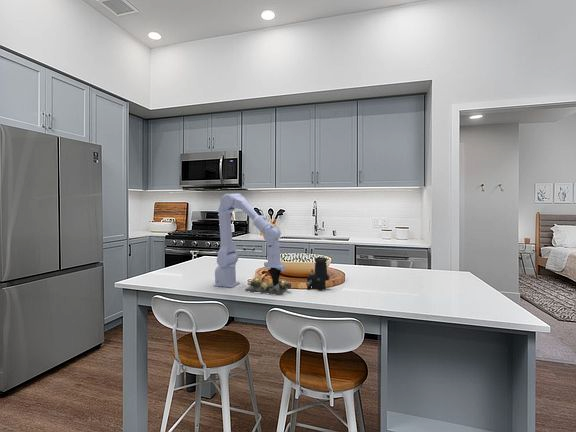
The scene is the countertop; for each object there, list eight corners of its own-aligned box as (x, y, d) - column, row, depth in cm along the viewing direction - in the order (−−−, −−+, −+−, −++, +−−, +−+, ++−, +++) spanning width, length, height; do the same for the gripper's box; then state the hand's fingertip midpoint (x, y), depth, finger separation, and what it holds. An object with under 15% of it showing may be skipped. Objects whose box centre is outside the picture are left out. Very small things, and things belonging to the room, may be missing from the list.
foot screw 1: (255, 282, 155) (254, 277, 155) (262, 283, 154) (261, 278, 154) (248, 287, 148) (248, 281, 148) (255, 287, 147) (255, 282, 147)
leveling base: (245, 291, 147) (245, 287, 147) (256, 284, 157) (256, 280, 157) (280, 295, 141) (280, 291, 141) (289, 287, 151) (289, 283, 151)
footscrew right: (263, 290, 143) (263, 284, 143) (259, 288, 147) (259, 282, 146) (277, 287, 147) (277, 282, 147) (274, 285, 150) (274, 280, 150)
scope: (310, 256, 154) (331, 257, 150) (310, 284, 155) (331, 286, 151) (305, 259, 146) (326, 261, 142) (305, 290, 147) (327, 292, 144)
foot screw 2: (277, 286, 149) (277, 280, 148) (283, 284, 151) (283, 279, 151) (287, 290, 143) (287, 284, 143) (293, 288, 145) (293, 282, 145)
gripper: (257, 254, 150) (259, 283, 151) (275, 257, 138) (277, 289, 139) (270, 251, 154) (272, 280, 155) (288, 255, 142) (290, 285, 143)
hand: (275, 284), depth 147 cm, fingers closed, pressing on footscrew right
